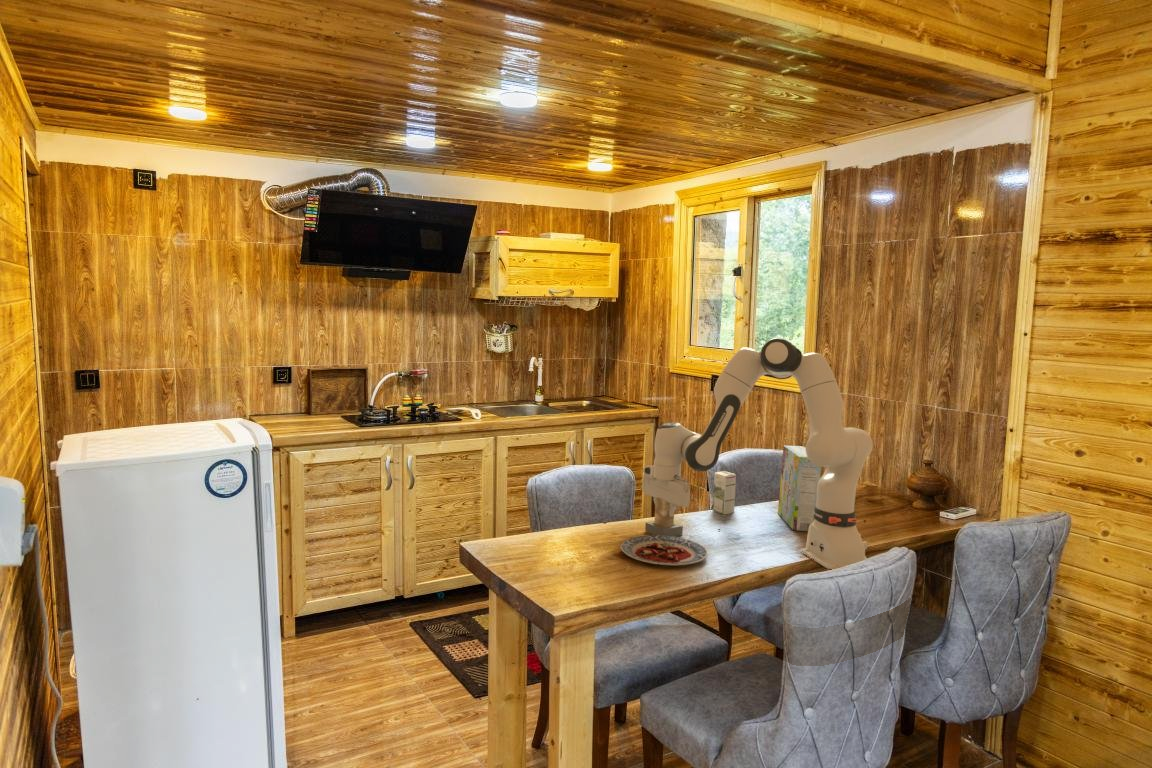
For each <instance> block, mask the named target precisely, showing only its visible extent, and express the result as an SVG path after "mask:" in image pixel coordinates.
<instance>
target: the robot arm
mask: <svg viewBox="0 0 1152 768" xmlns="http://www.w3.org/2000/svg"><path fill="white" fill-rule="evenodd" d="M763 376H764V377H768V378H772V379H778V380H787V379H790V378H791V377H793V378H794V379H795V380H796V382H797V386H798V387H799V390H800V393H801V396H802V398H803V399H802V400H803V403H804V406H805V409H806V412H807V415H808V422H809V424H808V425H809V434H808V439H807V440H806V444H805V448H806V455H807V457H808V459H809V460H810V461H811V462H812V463H813V464H815V465H817V466H822V467H823V468H825V470H824V473H823V474H822V475H821V476H820V480H819V482H818V488H817V501H816V506H815V508H814V521H813V523H812V524H811V525H810V526H809V529H808V531H807V537H806V544H805V547H803V548H802V549H801V551H800V553H801V552H803V553H805V554H806V555H808V556H810V557H812V558H813V559H814V560H813V559H812V560H813V561H814V562H816V563H818V564H819V565H821V566H823V568H826V569H828V570H832V569H835V568H839V567H843V566H846V565H849V564H852V563H856V562H859V561H862V560H864V559H868V558H867V556H866V550H867V549H868V542H867V541H863V539H862V534H861V533H859V531H858V528H857V515H856V511H855V502H856V492H857V486H858V481H859V478H860V476H861V473H862V469H863V467H864V465H865V462H866V460H868V459H867V458H868V457H869V456H870V455H871V453H872V451H873V448H874V444H873V443H874V442H873V440H872V437H871V435H870V434H869V433H868V432H867V431H866V430H864V429H861V428H857V427H850V426H849V427H844V426H843V412H844V409H845V401H844V398H843V396H842V393H841V390H840V387H839V385H838V382H837V379H836V377H835V374H834V372H833V369H832V368H831V366H830V364H829V363H828V361H827V359H826V357H825V356H824V355H823V354H821V353H819V352H808V353H804V354H802V351H801V349H799V348H798V347H796V346H795V345H794V344H793V343H792V342H790V341H789V340H787V339H785V338H781V337H776V338H771V339H770V340H768V341H766V342H765V343H764V344H763V346H762V347H761V349H760V351H757V350H755V349H754V348H750V347H741V348H740V349H739V350H737V352H735V354H734V355H733V356H732V357H731V359H729V361H728V362H727V364H725V366H724V368H723V369H722V371H721V373H720V375H719V376H718V378H717V380H716V382H715V385H714V387H713V395H714V399H715V410H714V413H713V415H712V417H711V419H710V420H709V423H708V424H707V426H706V428H705V430H704V431H703V433H702V434H701V433H698V432H695V431H692V430H690V429H688V428H686V427H685V426H683V425H682V423H679V422H665V423H662V424H660V425H659V426H658V428H657V429H656V434H655V438H654V459H653V464H652V465H647V466H643V469H642V473H643V476H642V482H641V484H642V485H641V488H642V492H643V494H644V495H647V496H651V497H652V498H653V502H654V504H655V503H656V498H659V499H661V500H664V501H666V502H668V503H670V506H671V507H670V509H669V510H667V515H668V516H670V517H672V516H674V517H675V511H676V509H677V507H678V508H686V507H690V504H691V490H690V483H689V481H688V480H687V478H685V477H682V476H681V471H682V470H681V469H682V468H681V467H682V463H683V462H687V465H689V467H690V468H691V469H693V470H694V471H696V472H707V471H709V470H711V469H713V468H714V467H715V466H716V464H717V463H718V460H719V456H720V451H721V446H722V444H723V441H724V439H725V438H726V436H727V434H728V432H729V430H730V429H731V427H732V425H733V423H734V421H735V419H736V417H737V415H738V412H739V411H740V409H741V407H742V405H744V403H745V401H746V399H747V397H749V394H750V393H751V392H752V390H753V388H754V386H755V385H756V383H757V382H758V380H759V379H760V378H761V377H763ZM803 553H802V554H803ZM806 555H805V556H806ZM808 556H807V557H808Z"/></svg>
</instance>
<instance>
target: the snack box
mask: <svg viewBox="0 0 1152 768" xmlns="http://www.w3.org/2000/svg"><path fill="white" fill-rule="evenodd" d="M822 467H823V466H817V465H815V464H813V463H812V462H811V461H810V460H809V459H808V457H807V455H806V446H800V445H785V444H784V445H783V449H782V461H781V473H780V483H779V495H778V496H779V498H778V507H777V508H778V509H777V514H778V515H779V516H780V517H781V519H783V521H784V522H785V523H786V524H787V525H788V526H789V528H790V529H791V530H792V531H799V532H808V529H809V526H810V525H811V524H812V523H813V521H814V508H815V506H816V501H817V488H818V482H819V480H820V478H821V477H822V475H821V474H822Z"/></svg>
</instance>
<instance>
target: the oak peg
mask: <svg viewBox="0 0 1152 768" xmlns="http://www.w3.org/2000/svg"><path fill="white" fill-rule="evenodd" d="M654 505H655V506H654V520H653V521H654V524H655V525H658V526H660V527H662V528H665V527H670V526H673V524H674V523H675V521H674V520H675V515H674V516H672V517H670V516H668V515H667V510H669V509H670V507H671V506H670V503H668V502H666V501H664V500H661V499H659V498H656V503H654Z"/></svg>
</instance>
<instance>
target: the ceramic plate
mask: <svg viewBox="0 0 1152 768" xmlns="http://www.w3.org/2000/svg"><path fill="white" fill-rule="evenodd" d="M620 548H621V551H622V552H623V554H625V555H626V556H627V557H629V558H632V559H634V560H637V561H640V562H643V563H648V564H652V565H658V564H659V565H660V566H685V565H693V564H696V563H700V562H702V561H703V560H705V559H706V558H707V557H708V554H709V553H708V550H707V548H706V547H704V546H703V545H702V544H700V543H698V542H697V541H696V542H695V541H693V540H691V539H687V538H683V537H679V536H674V537H673V536H664V535H652V534H649V535H648V534H646V535H638V536H634V537H631V538H628V539H626V540H624V541H623V542H622V543H621V545H620Z"/></svg>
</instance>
